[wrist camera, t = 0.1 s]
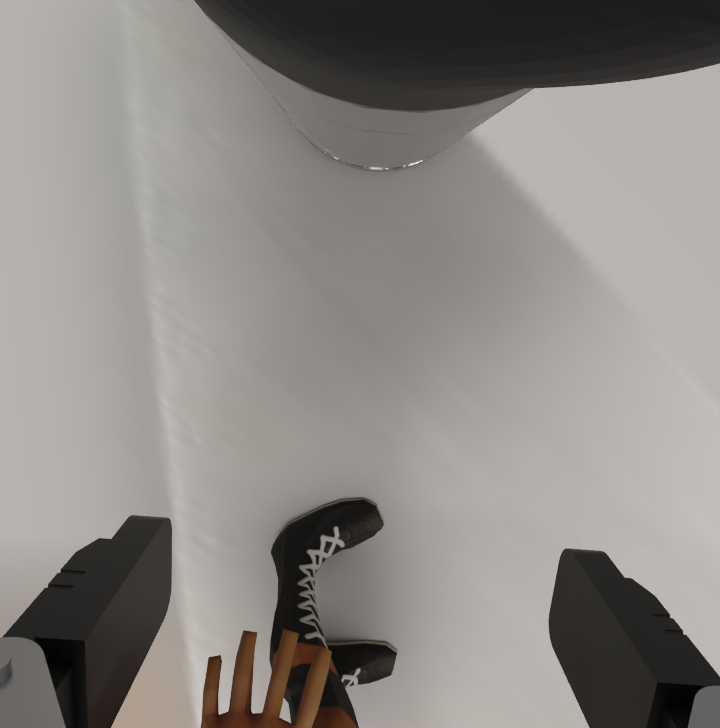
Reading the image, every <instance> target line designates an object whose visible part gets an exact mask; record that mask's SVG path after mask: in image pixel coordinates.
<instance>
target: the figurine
mask: <svg viewBox="0 0 720 728" xmlns="http://www.w3.org/2000/svg"><path fill="white" fill-rule="evenodd" d="M383 525H384V521H383V519H382V517H381V514H380V512H379V510H378V507H377V505H376V504H374V503H372V502H370V501H367V500H365V499H342V500H338V501H336V502H333V503H330V504H327V505H324V506H321V507H319V508H317V509H315V510H313V511H311V512H309V513H307V514H305V515H303V516H301V517H299V518H297V519H295V520H293V521H291V522H289V523H288V524H287V525H286V527H285V528H284V529H283V531H282V532H281V534H280V535H279V536H278V538H277V539H276V540H275V542H274V544H273V547H272V550H271V554H272V557H273V560H274V563H275V566H276V571H277V575H278V602H277V608H276V611H275V616H274V622H273V628H272V635H271V643H270V659H269V660H270V664H271V668H272V674H271V679H270V683H269V687H268V692H267V696H266V700H265V705H264V709H263V712H262V713H257V714H252V712H251V696H252V682H253V660H254V650H255V643H256V637H257V633H256V632H250V631H243V634H242V638H241V641H240V645H239V649H238V652H237V656H236V662H235V668H234V675H233V683H232V691H231V699H230V707H229V711H228V712H227V713H224V714H221V715H219V714H218V690H219V680H220V671H221V663H222V660H221V655H219V656H214V657H209V659H208V666H207V673H206V679H205V685H204V691H203V709H202V722H201V728H359V727H358V723H357V720H356V716H355V713H354V709H353V707H352V704H351V702H350V699H349V697H348V694H347V692H346V689H345V688H346V687H349V686H353V685H360V684H366V683H371V682H374V681H377V680H380V679H383V678H385V677H387V676H390V675H391V674H392V671H393V668H394V664H395V659H396V655H397V650H396V649H395V648H393V647H392V646H391V645H389V644H388V643H387V642H378V641H367V640H365V641H352V642H338V643H326V642H325V638H324V635H323V631H322V628H321V625H320V621H319V618H318V612H317V606H316V600H315V593H314V591H315V573H316V571H317V570H318V569H319V567H320V566H321V565H322V563H323V562H324V561H325V559H327V558H328V557H330V556H332V555H334V554H335V553H337V552H339V551H341V550H343V549H348V548H352V547H354V546H356V545H357V544H359V543H361V542H363V541H365V540H367V539H369V538H371V537H373V536H374V535H375V534H376V533H377V532H378V531H379V530H381V529H382V527H383ZM283 698H285V699H286V701H287V702H288V703H289V709H290V717H291V724H290V723H289V722H287V721H285V720H283V719H281V718H279V715H280V711H281V707H282V702H283Z"/></svg>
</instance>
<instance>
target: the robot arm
mask: <svg viewBox="0 0 720 728" xmlns="http://www.w3.org/2000/svg"><path fill="white" fill-rule="evenodd" d="M194 1H195V2H196V3H197V4H198V5H199V6H200V8H201V9H202V11H203V12H204V13H205V15H206V16H207V17H208V18H209V19H210V21H211V22H212V23H213V24H214V26H215V27H216V28H217V29H218V31H219V32H220V33H221V34H222V35H223V37H224V38H225V39H226V40H227V42H228V43H229V44H230V45H231V46H232V48H233V49H234V50H235V51H236V53H237V54H238V55H239V56H240V57H241V59H242V60H243V61H244V62H245V63H246V64H247V65H248V66H249V68H250V69H251V70H252V71H253V73H254V74H255V75H256V76H257V78H258V79H259V80H260V81H261V83H262V84H263V85H264V86H265V87H266V89H267V90H268V91H269V92H270V94H271V95H272V96H273V97H274V99H275V100H276V101H277V102H278V104H279V105H280V106H281V107H282V108H283V110H284V111H285V112H286V114H287V115H288V116H289V117H290V119H291V120H292V121H293V122H294V124H295V125H296V126H297V127H298V128H299V129H300V131H301V132H302V133H303V134H304V135H305V136H306V137H307V138H308V140H309V141H310V142H311V143H312V144H313V145H314V146H316V147H317V148H318V149H320V150H321V151H322V152H323V153H325V154H326V155H328V156H329V157H331V158H333V159H335V160H337V161H339V162H342V163H344V164H346V165H348V166H351V167H356V168H361V169H366V170H371V171H383V170H396V169H400V168H404V167H409V166H412V165H415V164H417V163H420V162H423V161H425V159H427V158H429V157H431V156H433V155H435V154H436V153H438V152H439V151H441V150H442V149H444V148H446V147H448V146H449V145H450V144H452V143H453V142H455V141H456V140H458V139H459V138H461V137H462V136H464V135H465V134H467V133H468V132H470V131H471V130H473V129H474V128H476V127H477V126H479V125H480V124H482V123H483V122H485V121H486V120H488V119H489V118H490V117H492V116H494V115H495V114H496V113H498V112H499V111H501V110H502V109H504V108H505V107H507V106H508V105H510V104H511V103H513V102H514V101H516V100H517V99H519V98H520V97H522V96H523V95H525V94H526V93H527V92H529V91H530V90H532V89H534V88H545V87H546V88H547V87H566V86H580V85H594V84H604V83H614V82H623V81H631V80H639V79H645V78H653V77H658V76H664V75H669V74H675V73H680V72H686V71H690V70H695V69H699V68H703V67H707V66H711V65H715V64H719V63H720V0H194ZM171 574H172V526H171V521H170V519H169V518H163V517H150V516H137V515H132V516H130V517H129V518H128V519H127V520H126V521H125V523H124V524H123V525H122V526H121V528H120V529H119V530H118V531H117V533H116V534H115V535H114V536H113V538H112V539H102V538H99V539H97V540H96V541H94V542H92V543H90V544H89V545H87V546H85V547H84V548H82V549H80V550H79V551H77V552H76V553H75V554H74V555H73V556H72V557H71V559H70V560H69V561H68V562H67V563H66V564H65V565H64V567H63V568H62V569H61V572H60V573H58V574H57V575H56V576H55V577H54V578H53V579H52V580H51V582H50V583H49V584H48V588H45V589H44V590H43V591H42V592H41V593H40V594H39V595H38V597H37V598H36V599H35V600H34V601H33V602H32V604H31V605H30V606H29V607H28V608H27V609H26V611H25V612H24V613H23V614H22V615H21V616H20V617H19V619H18V620H17V621H16V622H15V623H14V624H13V626H12V627H11V628H10V629H9V630H8V631H7V632H6V634H5V635H4V636H3V637H2V638H0V728H111V726H112V724H113V722H114V720H115V718H116V716H117V714H118V712H119V710H120V708H121V706H122V704H123V702H124V700H125V698H126V696H127V694H128V691H129V690H130V688H131V685H132V683H133V681H134V679H135V677H136V675H137V673H138V671H139V669H140V667H141V665H142V663H143V661H144V659H145V657H146V655H147V653H148V651H149V649H150V647H151V645H152V643H153V641H154V639H155V636H156V635H157V633H158V631H159V629H160V627H161V625H162V623H163V620H164V618H165V616H166V613H167V609H168V605H169V601H170V595H171ZM549 634H550V639H551V643H552V647H553V649H554V651H555V654H556V656H557V658H558V660H559V662H560V664H561V667H562V669H563V671H564V673H565V675H566V677H567V680H568V682H569V684H570V686H571V688H572V690H573V693H574V695H575V697H576V699H577V701H578V703H579V706H580V708H581V710H582V712H583V714H584V716H585V719H586V721H587V723H588V725H589V727H590V728H720V677H719V675H718V674H717V673H716V672H715V670H714V669H713V668H712V667H711V665H710V664H709V663H708V662H707V660H706V659H705V658H704V657H703V655H702V654H701V653H700V652H699V650H698V649H697V648H696V647H695V645H694V644H693V643H692V642H691V640H690V639H689V638H688V637H687V635H683V630H682V629H681V628H680V627H679V625H678V624H677V623H676V622H675V620H674V619H672V618H670V614H669V613H668V612H667V610H666V609H665V608H664V607H663V605H662V604H661V603H660V602H659V600H658V599H657V598H656V597H655V595H653V594H652V593H650V592H649V591H648V590H646V589H645V588H644V587H642V586H641V585H640V584H638V583H637V582H635V581H634V580H633V579H631V578H624V576H623V575H622V574H621V573H620V571H619V570H618V569H617V567H616V566H615V565H614V563H613V562H612V561H611V559H610V558H609V557H608V555H607V554H606V553H605V552H603V551H593V550H580V549H565V550H563V552H562V554H561V556H560V560H559V565H558V570H557V576H556V581H555V586H554V592H553V597H552V602H551V608H550V613H549Z"/></svg>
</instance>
